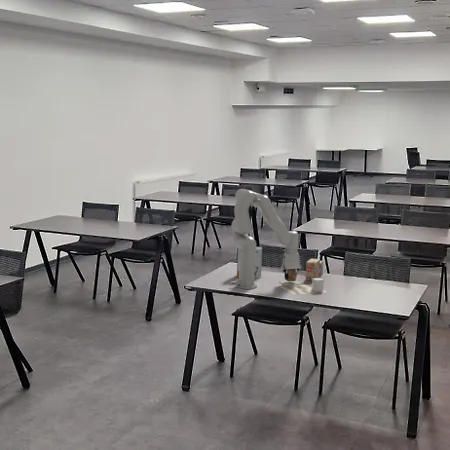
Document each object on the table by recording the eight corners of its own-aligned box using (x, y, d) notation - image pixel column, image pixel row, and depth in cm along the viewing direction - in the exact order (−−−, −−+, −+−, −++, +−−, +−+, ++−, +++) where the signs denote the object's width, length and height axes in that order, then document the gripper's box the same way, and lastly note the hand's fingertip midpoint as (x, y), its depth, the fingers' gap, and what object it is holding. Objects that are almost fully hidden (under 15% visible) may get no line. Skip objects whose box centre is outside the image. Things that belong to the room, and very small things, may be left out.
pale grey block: (315, 291, 371) (316, 280, 370) (311, 289, 376) (312, 278, 374) (323, 291, 373) (323, 279, 372) (319, 289, 377) (319, 277, 376)
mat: (284, 285, 385) (284, 284, 385) (278, 282, 393) (278, 281, 393) (302, 284, 389) (302, 283, 389) (295, 280, 397) (295, 280, 397)
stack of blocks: (313, 273, 419) (314, 255, 417) (322, 274, 417) (323, 256, 415) (305, 280, 400) (306, 261, 398) (314, 281, 397) (315, 262, 395)
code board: (294, 295, 363) (294, 294, 363) (280, 286, 382) (280, 286, 382) (327, 292, 371) (327, 292, 371) (311, 284, 389) (311, 283, 389)
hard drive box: (236, 277, 404) (236, 247, 401) (238, 274, 411) (239, 245, 408) (259, 279, 401) (260, 249, 397) (261, 276, 408) (262, 246, 405)
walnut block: (288, 281, 387) (288, 270, 386) (285, 279, 392) (285, 268, 391) (295, 280, 389) (296, 270, 388) (292, 279, 394) (292, 268, 393)
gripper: (281, 252, 381) (280, 281, 384) (306, 251, 387) (305, 279, 390) (276, 250, 388) (275, 278, 391) (300, 249, 394) (299, 276, 397)
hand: (290, 278), depth 390 cm, fingers closed on walnut block, 5 cm apart
